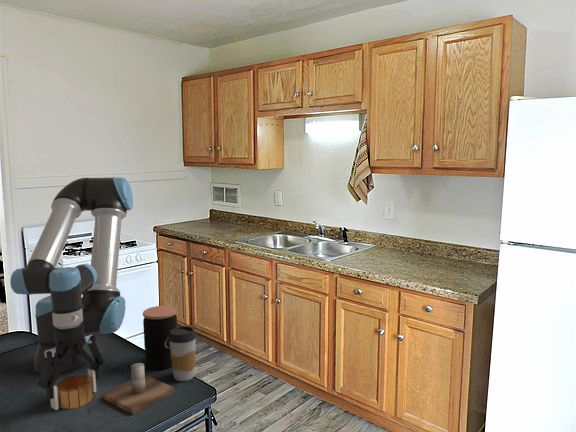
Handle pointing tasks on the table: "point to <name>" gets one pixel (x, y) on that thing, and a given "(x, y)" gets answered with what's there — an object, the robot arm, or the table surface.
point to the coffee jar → (158, 335)
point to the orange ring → (74, 391)
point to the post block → (138, 391)
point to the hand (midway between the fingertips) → (74, 399)
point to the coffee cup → (183, 352)
